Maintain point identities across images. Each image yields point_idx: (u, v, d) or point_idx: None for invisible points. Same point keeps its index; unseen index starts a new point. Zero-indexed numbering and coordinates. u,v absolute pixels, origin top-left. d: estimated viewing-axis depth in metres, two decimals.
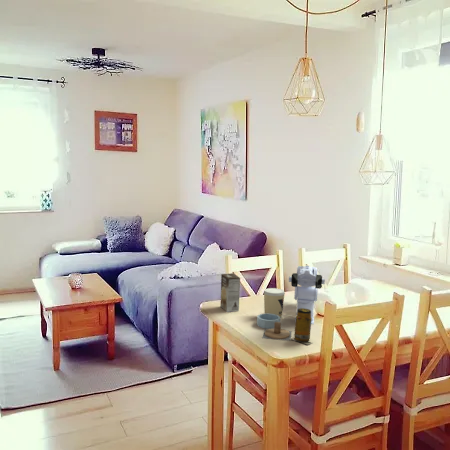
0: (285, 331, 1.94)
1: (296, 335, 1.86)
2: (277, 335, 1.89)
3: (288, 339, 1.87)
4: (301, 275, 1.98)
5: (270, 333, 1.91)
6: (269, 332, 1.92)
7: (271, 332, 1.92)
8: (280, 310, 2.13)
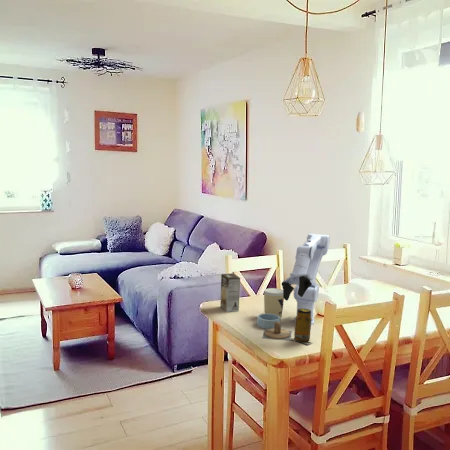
0: (285, 331, 1.94)
1: (296, 335, 1.86)
2: (277, 335, 1.89)
3: (288, 339, 1.87)
4: (290, 278, 1.94)
5: (270, 333, 1.91)
6: (269, 332, 1.92)
7: (271, 332, 1.92)
8: (280, 310, 2.13)
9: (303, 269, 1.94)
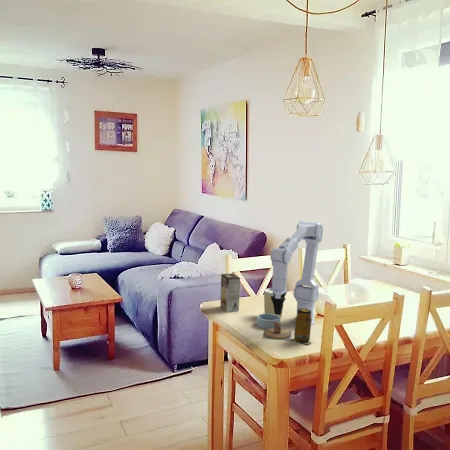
0: (285, 331, 1.94)
1: (296, 335, 1.86)
2: (277, 335, 1.89)
3: (288, 339, 1.87)
4: None
5: (270, 333, 1.91)
6: (269, 332, 1.92)
7: (271, 332, 1.92)
8: None
9: (276, 282, 1.87)
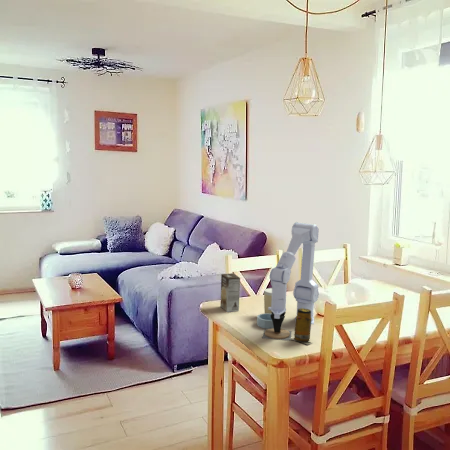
0: (285, 331, 1.94)
1: (296, 335, 1.86)
2: (277, 335, 1.89)
3: (288, 339, 1.87)
4: None
5: (270, 333, 1.91)
6: (269, 332, 1.92)
7: (271, 332, 1.92)
8: None
9: (275, 301, 1.88)
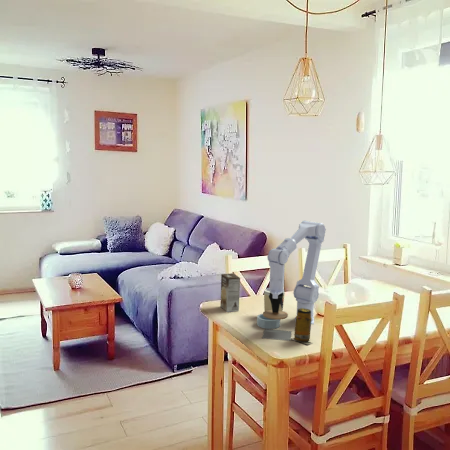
0: (283, 312, 1.97)
1: (296, 335, 1.86)
2: (275, 316, 1.92)
3: (288, 339, 1.87)
4: None
5: (268, 314, 1.94)
6: (267, 313, 1.95)
7: (269, 313, 1.95)
8: (280, 310, 2.13)
9: (274, 282, 1.91)
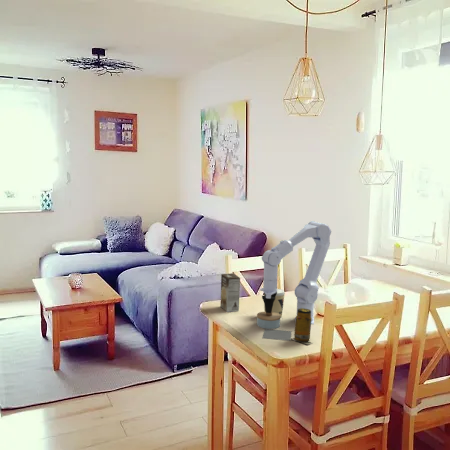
0: (276, 314, 2.05)
1: (296, 335, 1.86)
2: (268, 317, 2.00)
3: (288, 339, 1.87)
4: None
5: (262, 315, 2.02)
6: (261, 314, 2.04)
7: (263, 314, 2.04)
8: (280, 310, 2.13)
9: (267, 282, 1.99)
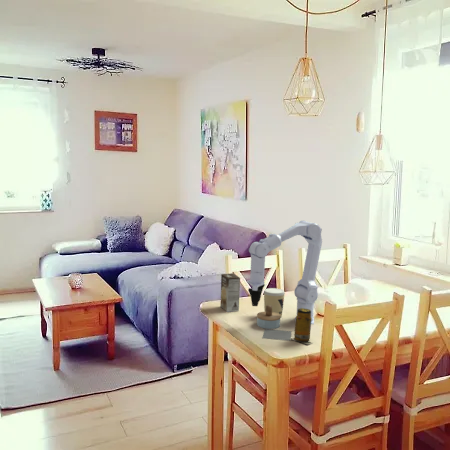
0: (276, 314, 2.05)
1: (296, 335, 1.86)
2: (268, 317, 2.00)
3: (288, 339, 1.87)
4: None
5: (262, 315, 2.02)
6: (261, 314, 2.04)
7: (263, 314, 2.04)
8: (280, 310, 2.13)
9: (254, 275, 1.95)
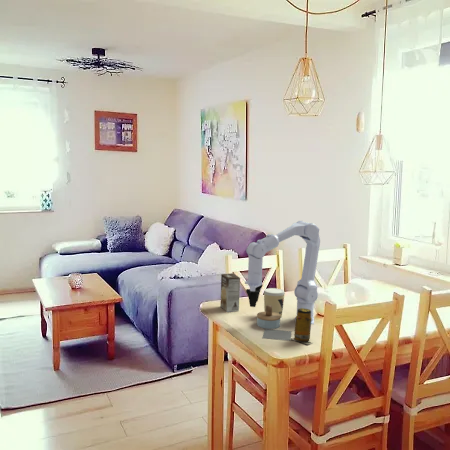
0: (276, 314, 2.05)
1: (296, 335, 1.86)
2: (268, 317, 2.00)
3: (288, 339, 1.87)
4: None
5: (262, 315, 2.02)
6: (261, 314, 2.04)
7: (263, 314, 2.04)
8: (280, 310, 2.13)
9: (252, 275, 1.95)
